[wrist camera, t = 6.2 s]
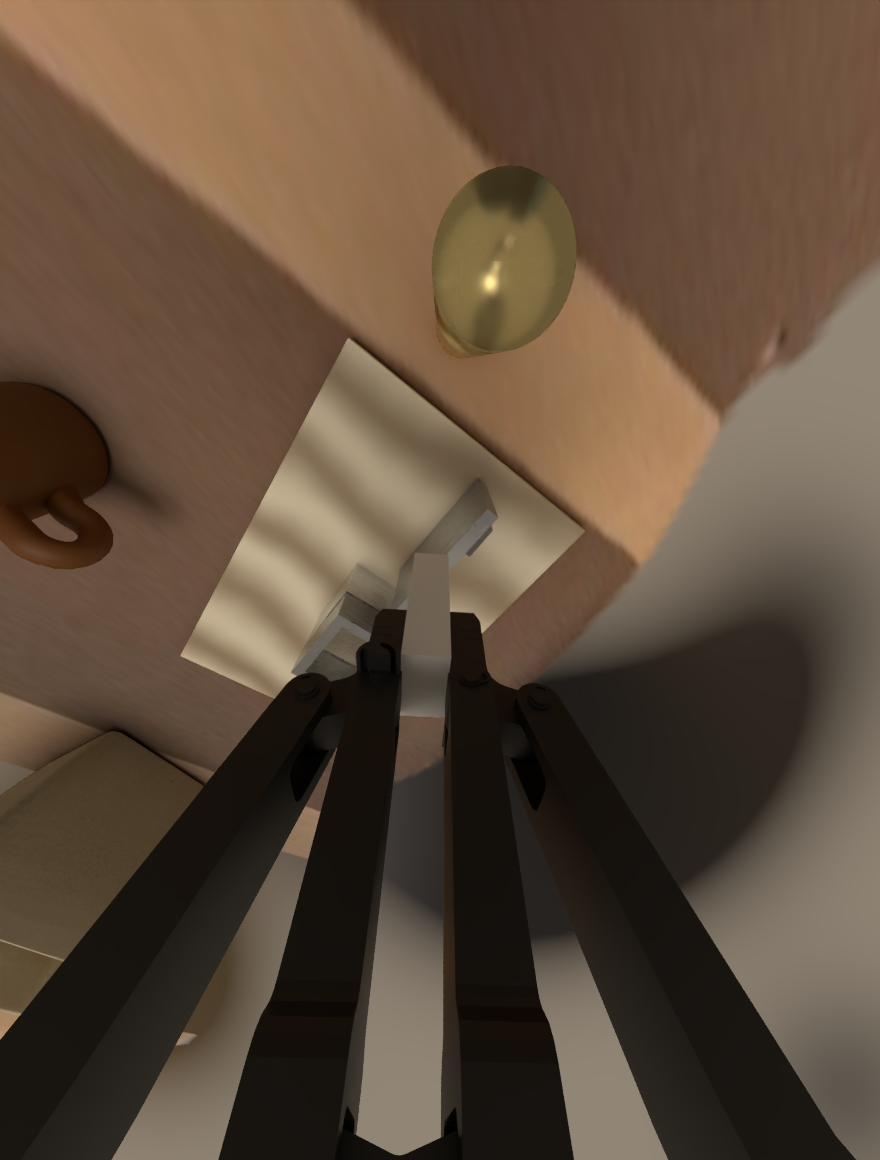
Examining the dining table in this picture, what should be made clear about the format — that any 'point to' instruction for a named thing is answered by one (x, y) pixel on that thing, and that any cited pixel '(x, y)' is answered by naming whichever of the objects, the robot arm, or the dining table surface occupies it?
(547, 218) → the pin
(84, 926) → the flower pot
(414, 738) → the dining table surface
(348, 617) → the square frame with bar
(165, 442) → the dining table surface
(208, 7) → the dining table surface
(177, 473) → the dining table surface
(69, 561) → the mug
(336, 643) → the hinge base
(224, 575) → the board
